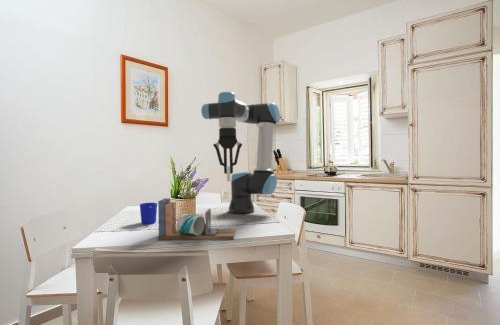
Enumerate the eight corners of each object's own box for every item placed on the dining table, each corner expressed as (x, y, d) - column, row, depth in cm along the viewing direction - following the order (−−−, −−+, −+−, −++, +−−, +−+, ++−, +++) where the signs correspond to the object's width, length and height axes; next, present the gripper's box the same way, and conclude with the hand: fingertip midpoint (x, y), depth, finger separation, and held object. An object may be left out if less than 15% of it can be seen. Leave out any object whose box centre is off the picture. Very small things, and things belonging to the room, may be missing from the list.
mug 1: (142, 227, 136) (141, 206, 136) (139, 223, 146) (138, 203, 146) (160, 225, 139) (159, 205, 139) (155, 221, 150) (155, 202, 150)
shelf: (166, 232, 126) (165, 197, 126) (234, 231, 126) (234, 197, 126) (157, 240, 114) (157, 201, 114) (233, 239, 114) (233, 201, 114)
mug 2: (179, 212, 118) (195, 213, 114) (196, 216, 128) (212, 218, 124) (174, 232, 116) (191, 235, 112) (193, 235, 126) (208, 237, 122)
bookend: (208, 229, 125) (208, 208, 125) (217, 229, 125) (217, 208, 125) (205, 235, 116) (205, 212, 116) (215, 234, 116) (215, 212, 116)
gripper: (211, 127, 124) (213, 182, 125) (242, 126, 124) (243, 181, 125) (213, 128, 131) (215, 180, 132) (242, 128, 132) (243, 179, 133)
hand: (228, 181), depth 129 cm, fingers closed
